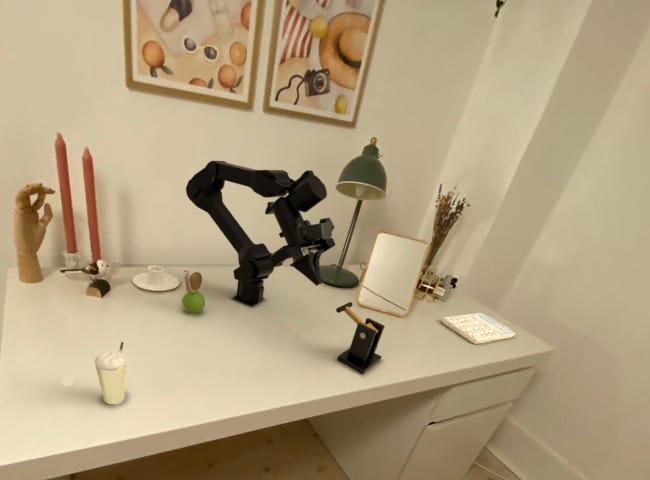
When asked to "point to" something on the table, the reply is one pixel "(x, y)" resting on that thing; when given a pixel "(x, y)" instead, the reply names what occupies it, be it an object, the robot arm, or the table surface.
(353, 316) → the lever
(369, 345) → the bracket
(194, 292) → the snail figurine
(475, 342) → the calculator
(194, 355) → the table surface
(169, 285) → the candle holder
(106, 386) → the milkshake
